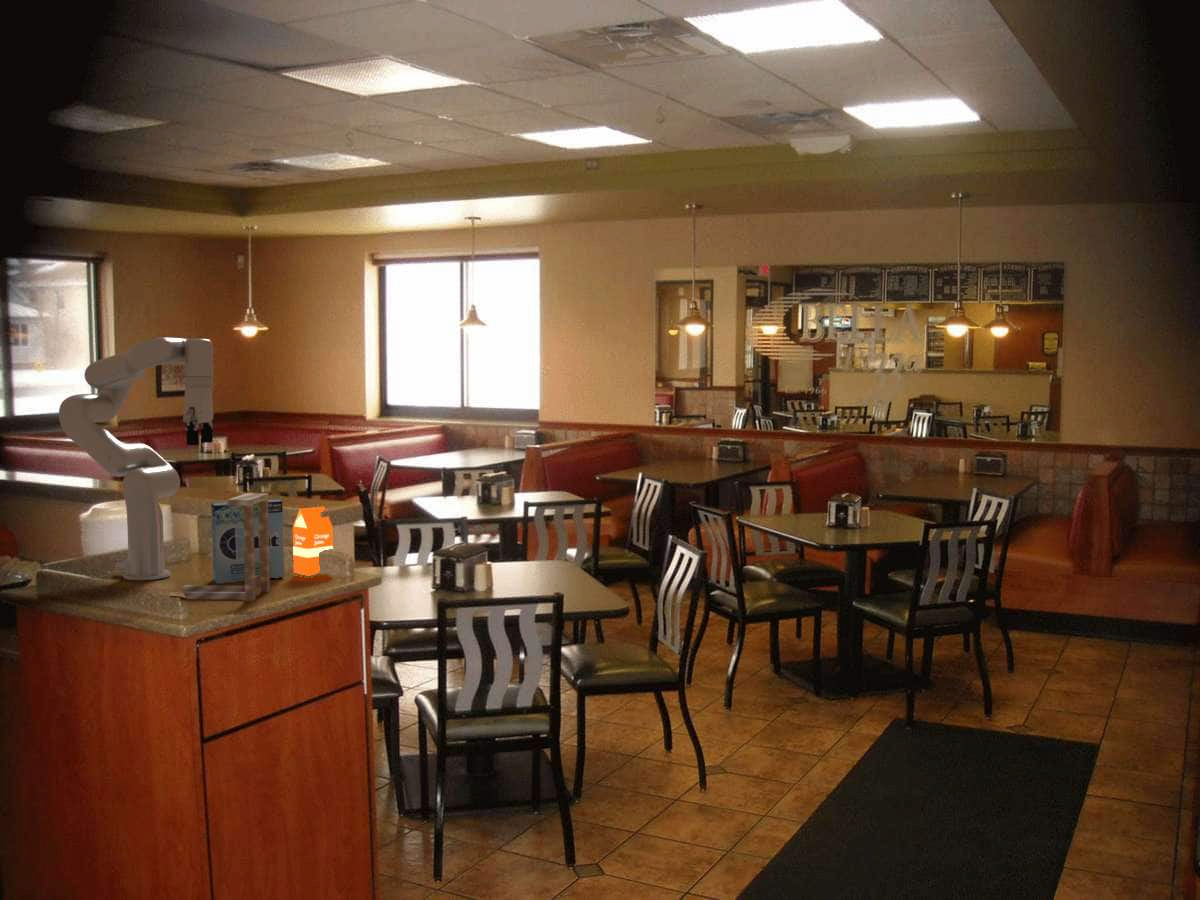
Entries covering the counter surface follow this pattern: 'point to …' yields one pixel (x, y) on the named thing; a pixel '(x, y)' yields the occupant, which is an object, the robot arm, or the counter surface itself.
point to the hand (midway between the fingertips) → (199, 443)
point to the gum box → (232, 541)
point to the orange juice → (310, 540)
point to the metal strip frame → (252, 582)
